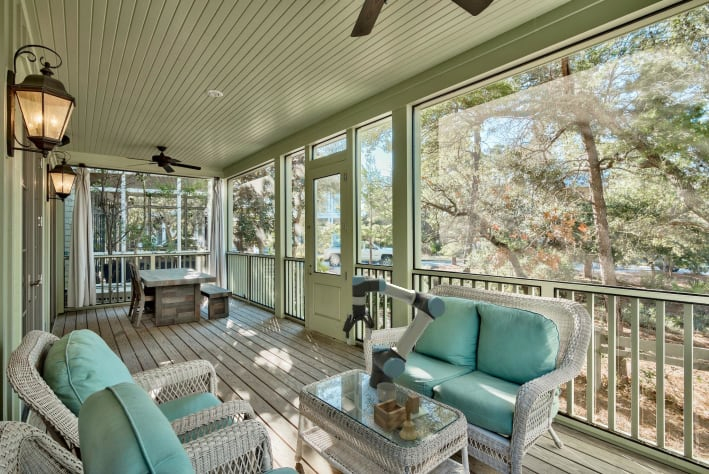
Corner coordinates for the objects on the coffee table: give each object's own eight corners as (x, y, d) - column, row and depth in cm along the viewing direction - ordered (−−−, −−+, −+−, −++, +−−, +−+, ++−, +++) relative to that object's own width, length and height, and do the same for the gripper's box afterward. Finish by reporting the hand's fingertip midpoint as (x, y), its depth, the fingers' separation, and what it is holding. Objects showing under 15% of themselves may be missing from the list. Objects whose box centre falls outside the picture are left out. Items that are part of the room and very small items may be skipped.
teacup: (381, 394, 195) (381, 380, 195) (399, 398, 190) (399, 384, 190) (371, 405, 183) (371, 390, 183) (390, 410, 178) (390, 394, 178)
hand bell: (411, 442, 150) (411, 406, 150) (395, 435, 155) (395, 400, 155) (421, 434, 156) (421, 399, 156) (405, 427, 162) (405, 394, 161)
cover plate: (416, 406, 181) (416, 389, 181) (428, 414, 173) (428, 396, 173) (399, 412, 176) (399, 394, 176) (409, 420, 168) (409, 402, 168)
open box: (395, 412, 175) (395, 397, 175) (410, 422, 166) (410, 406, 166) (373, 421, 167) (373, 405, 167) (388, 431, 158) (388, 415, 158)
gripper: (372, 300, 199) (373, 336, 200) (336, 305, 185) (336, 344, 186) (380, 302, 193) (380, 339, 193) (343, 307, 179) (343, 348, 179)
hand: (359, 341), depth 189 cm, fingers open, 13 cm apart
